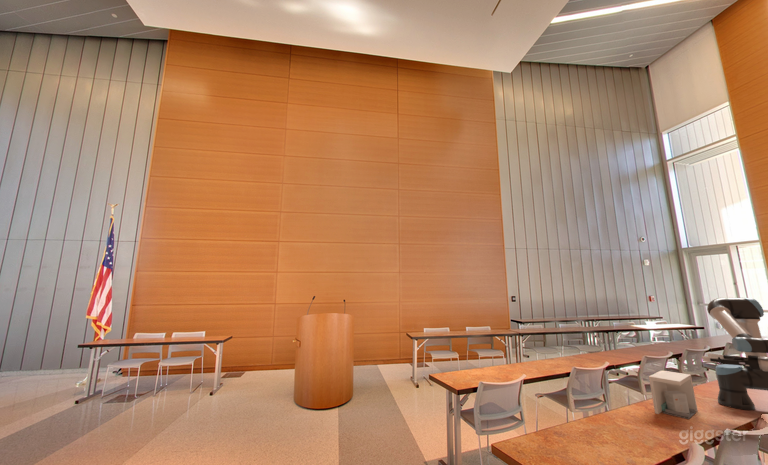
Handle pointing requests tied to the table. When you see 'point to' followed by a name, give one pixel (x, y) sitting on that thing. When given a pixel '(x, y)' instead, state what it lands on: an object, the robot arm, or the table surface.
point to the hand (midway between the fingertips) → (705, 357)
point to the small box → (676, 401)
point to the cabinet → (672, 383)
